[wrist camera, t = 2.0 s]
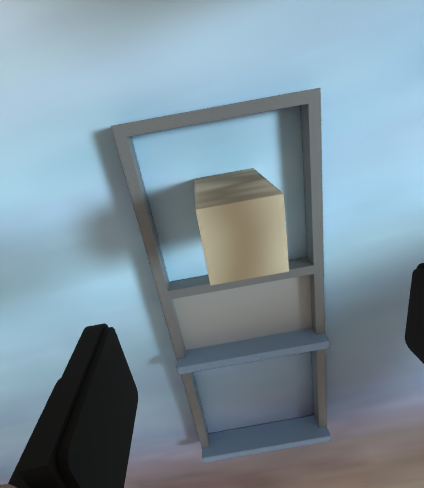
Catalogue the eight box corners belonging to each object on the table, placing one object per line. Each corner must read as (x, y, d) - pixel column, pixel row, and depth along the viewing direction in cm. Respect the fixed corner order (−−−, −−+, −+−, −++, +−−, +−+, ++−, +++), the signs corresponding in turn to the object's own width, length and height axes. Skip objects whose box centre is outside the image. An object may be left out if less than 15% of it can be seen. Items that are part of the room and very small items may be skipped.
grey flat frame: (311, 89, 20) (326, 86, 18) (321, 418, 34) (330, 440, 32) (116, 125, 21) (106, 126, 18) (202, 439, 34) (203, 462, 32)
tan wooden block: (253, 168, 22) (283, 193, 15) (259, 224, 24) (289, 271, 17) (194, 178, 22) (195, 209, 15) (204, 233, 24) (210, 285, 17)
